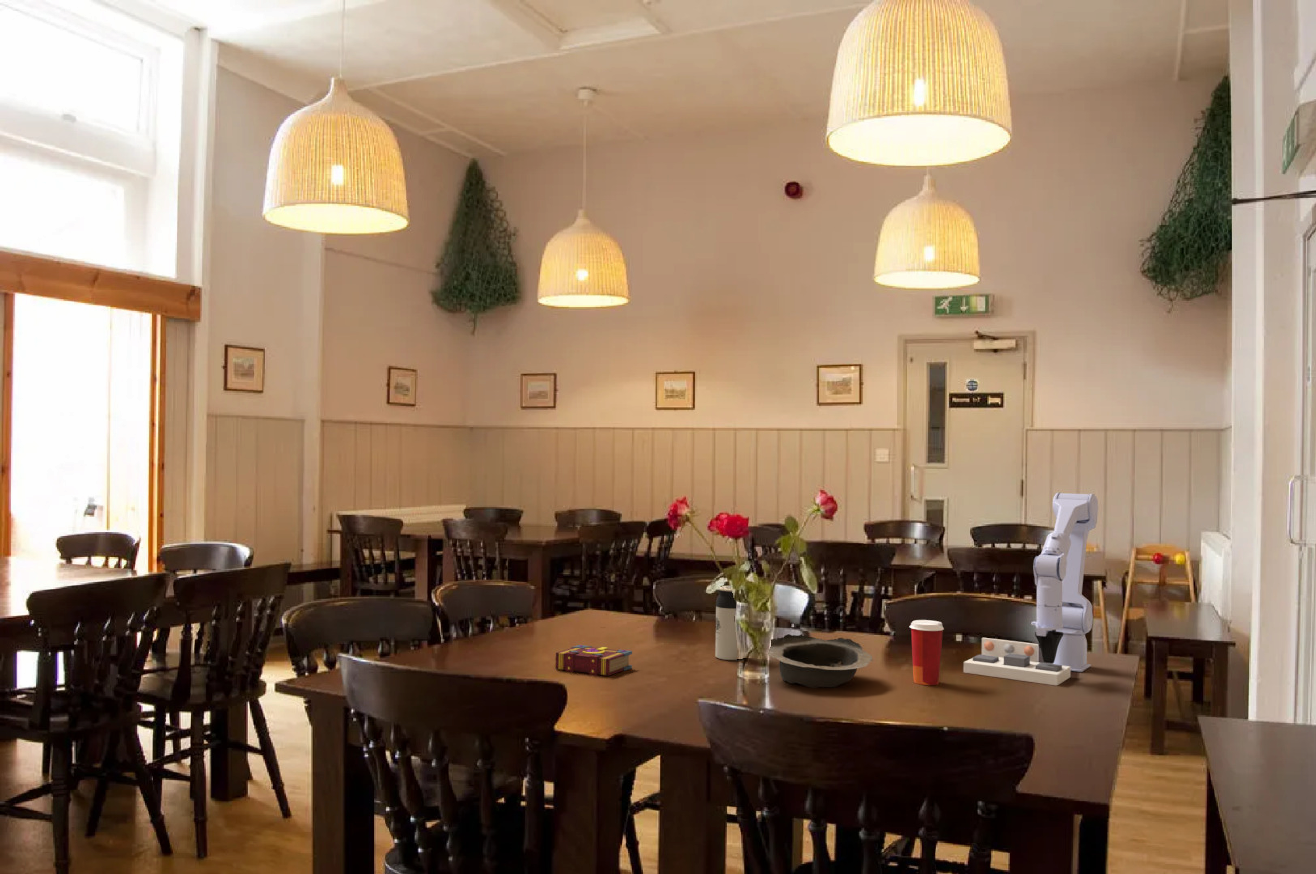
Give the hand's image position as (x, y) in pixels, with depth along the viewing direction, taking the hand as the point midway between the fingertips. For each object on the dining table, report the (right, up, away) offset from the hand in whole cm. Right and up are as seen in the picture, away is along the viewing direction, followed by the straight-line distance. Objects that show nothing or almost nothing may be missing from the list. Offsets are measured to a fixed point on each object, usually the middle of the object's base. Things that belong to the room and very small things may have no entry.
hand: (1048, 662), depth 244 cm
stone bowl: (-56, -3, -7) cm, 56 cm away
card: (-4, -4, +16) cm, 17 cm away
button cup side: (0, -4, 0) cm, 4 cm away
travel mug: (-74, -3, +19) cm, 77 cm away
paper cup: (-31, -4, -6) cm, 32 cm away
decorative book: (-109, -3, +3) cm, 109 cm away
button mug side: (-12, -3, +9) cm, 15 cm away
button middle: (-6, -2, +4) cm, 8 cm away
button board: (-6, -4, +4) cm, 9 cm away
